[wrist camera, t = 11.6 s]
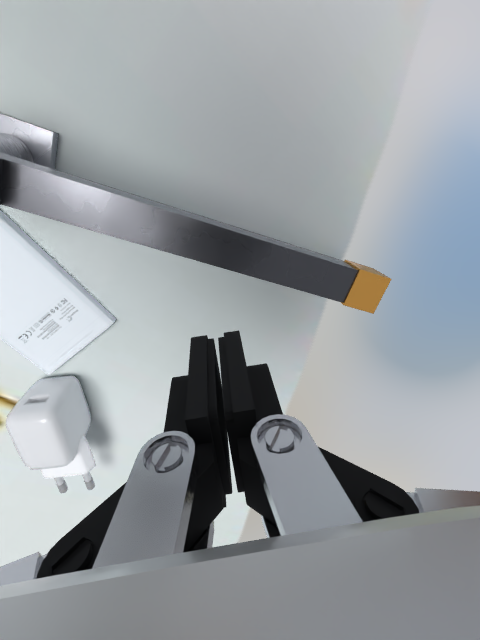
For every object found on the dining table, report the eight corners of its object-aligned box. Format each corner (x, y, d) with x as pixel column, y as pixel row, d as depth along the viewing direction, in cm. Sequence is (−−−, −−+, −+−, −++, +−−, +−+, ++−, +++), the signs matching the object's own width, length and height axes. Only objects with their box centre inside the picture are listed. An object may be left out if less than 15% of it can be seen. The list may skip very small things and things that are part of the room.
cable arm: (-106, 183, 16) (-197, 185, 12) (-115, 91, 14) (-221, 64, 11) (351, 312, 21) (380, 340, 18) (379, 254, 20) (417, 272, 16)
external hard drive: (-9, 195, 23) (118, 316, 28) (-77, 264, 25) (54, 367, 29) (-24, 196, 22) (113, 324, 26) (-96, 269, 23) (46, 378, 28)
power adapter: (113, 458, 34) (95, 511, 29) (66, 463, 34) (39, 518, 28) (85, 370, 29) (57, 414, 24) (30, 375, 29) (-10, 421, 24)
